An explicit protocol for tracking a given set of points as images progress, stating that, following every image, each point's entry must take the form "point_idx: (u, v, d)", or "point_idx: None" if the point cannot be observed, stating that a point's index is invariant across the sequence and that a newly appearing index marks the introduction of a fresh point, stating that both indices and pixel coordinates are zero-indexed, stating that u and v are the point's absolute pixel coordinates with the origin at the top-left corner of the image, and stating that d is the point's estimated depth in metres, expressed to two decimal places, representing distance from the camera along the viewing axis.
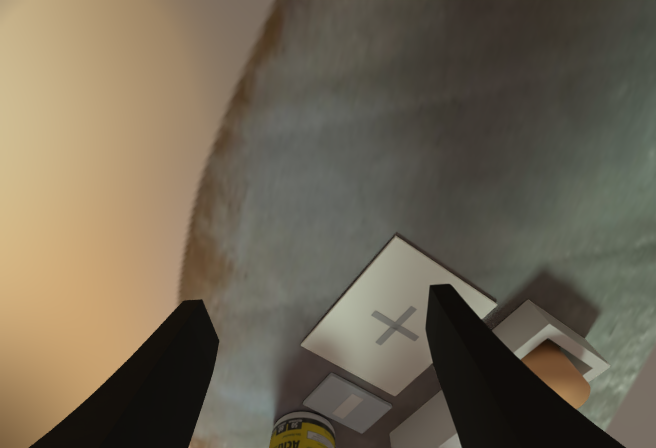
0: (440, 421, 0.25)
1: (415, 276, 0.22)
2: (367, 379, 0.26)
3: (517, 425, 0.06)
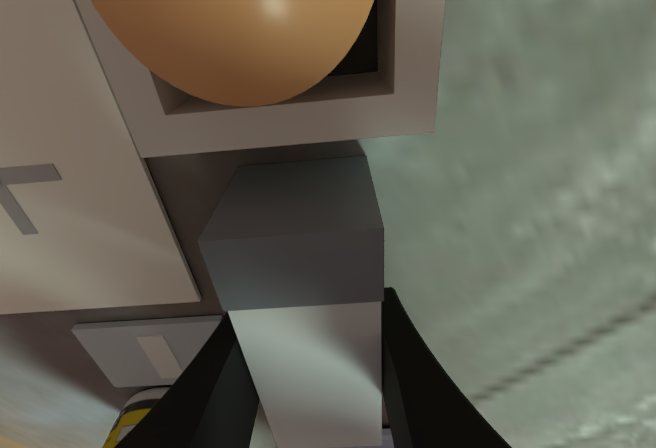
0: None
1: None
2: (121, 302, 0.13)
3: (419, 430, 0.06)
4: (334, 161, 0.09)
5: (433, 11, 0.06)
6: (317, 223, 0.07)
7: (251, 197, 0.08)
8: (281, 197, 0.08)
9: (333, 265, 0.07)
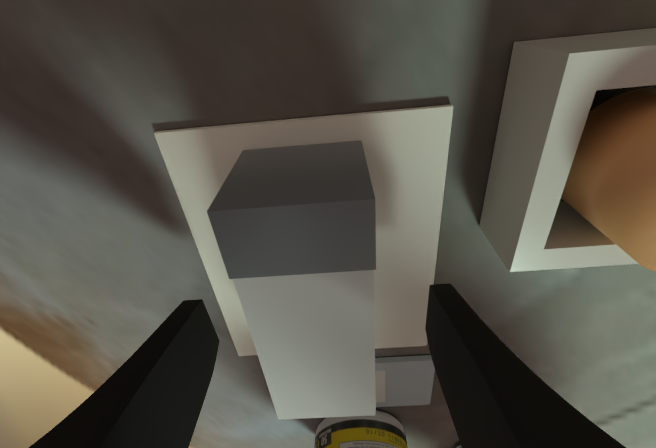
0: None
1: None
2: None
3: (518, 426, 0.06)
4: (331, 145, 0.10)
5: None
6: (315, 195, 0.08)
7: (255, 175, 0.09)
8: (282, 175, 0.09)
9: (329, 234, 0.08)
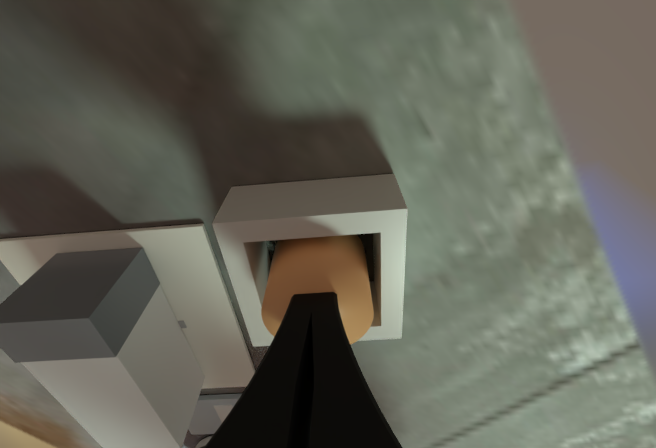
0: None
1: None
2: (207, 386, 0.19)
3: (321, 434, 0.06)
4: (118, 252, 0.14)
5: (398, 301, 0.12)
6: (56, 312, 0.11)
7: (38, 286, 0.12)
8: (56, 287, 0.12)
9: (70, 337, 0.11)
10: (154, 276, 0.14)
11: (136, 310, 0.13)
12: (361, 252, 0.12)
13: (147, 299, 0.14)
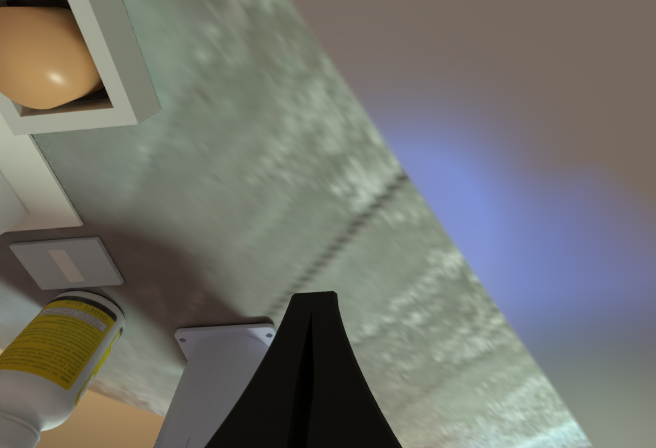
0: None
1: None
2: (35, 226, 0.21)
3: (321, 433, 0.06)
4: None
5: (114, 76, 0.14)
6: None
7: None
8: None
9: None
10: None
11: None
12: None
13: None
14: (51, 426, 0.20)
